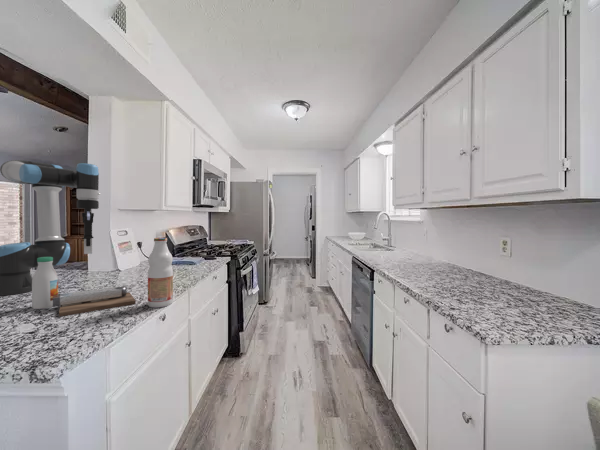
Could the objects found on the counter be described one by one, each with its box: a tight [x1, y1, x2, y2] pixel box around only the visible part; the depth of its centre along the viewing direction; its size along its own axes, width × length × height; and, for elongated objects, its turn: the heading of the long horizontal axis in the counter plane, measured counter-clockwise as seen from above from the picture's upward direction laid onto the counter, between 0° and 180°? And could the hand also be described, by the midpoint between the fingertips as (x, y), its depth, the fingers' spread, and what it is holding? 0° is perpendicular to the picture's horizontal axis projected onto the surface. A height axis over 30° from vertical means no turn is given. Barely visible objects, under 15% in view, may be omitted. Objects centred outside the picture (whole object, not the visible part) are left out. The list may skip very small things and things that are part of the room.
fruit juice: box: [147, 237, 174, 309], centre depth 113 cm, size 9×9×28 cm
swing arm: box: [52, 286, 128, 308], centre depth 113 cm, size 24×7×3 cm, turn 130°
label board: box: [58, 292, 137, 318], centre depth 112 cm, size 16×24×2 cm, turn 130°
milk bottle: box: [31, 257, 59, 310], centre depth 108 cm, size 8×8×20 cm
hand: (88, 253), depth 118 cm, fingers closed
